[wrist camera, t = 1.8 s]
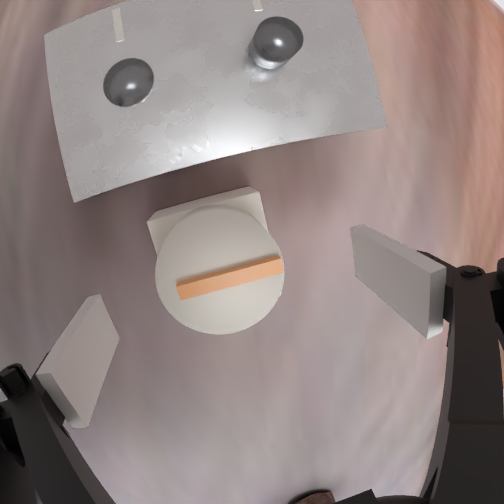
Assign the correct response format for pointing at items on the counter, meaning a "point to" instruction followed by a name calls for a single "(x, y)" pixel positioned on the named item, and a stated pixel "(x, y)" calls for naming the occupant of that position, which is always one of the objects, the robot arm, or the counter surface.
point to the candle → (318, 499)
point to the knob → (217, 262)
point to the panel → (203, 83)
